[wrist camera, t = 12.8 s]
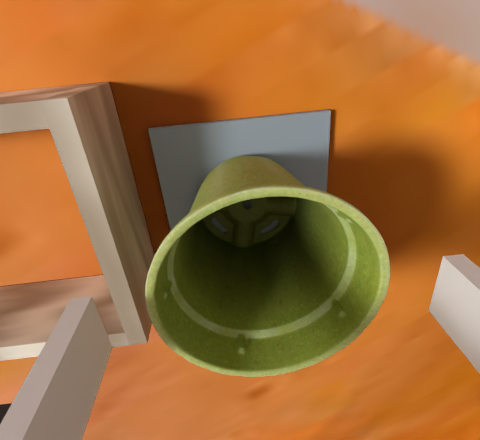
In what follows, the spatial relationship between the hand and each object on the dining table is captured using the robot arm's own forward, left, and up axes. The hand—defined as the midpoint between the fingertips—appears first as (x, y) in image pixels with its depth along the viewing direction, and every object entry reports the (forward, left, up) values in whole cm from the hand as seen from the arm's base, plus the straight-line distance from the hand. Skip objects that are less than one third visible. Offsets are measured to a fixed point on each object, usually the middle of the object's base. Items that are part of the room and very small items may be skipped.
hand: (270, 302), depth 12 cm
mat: (0, 0, -9) cm, 9 cm away
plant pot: (0, 0, -9) cm, 9 cm away
